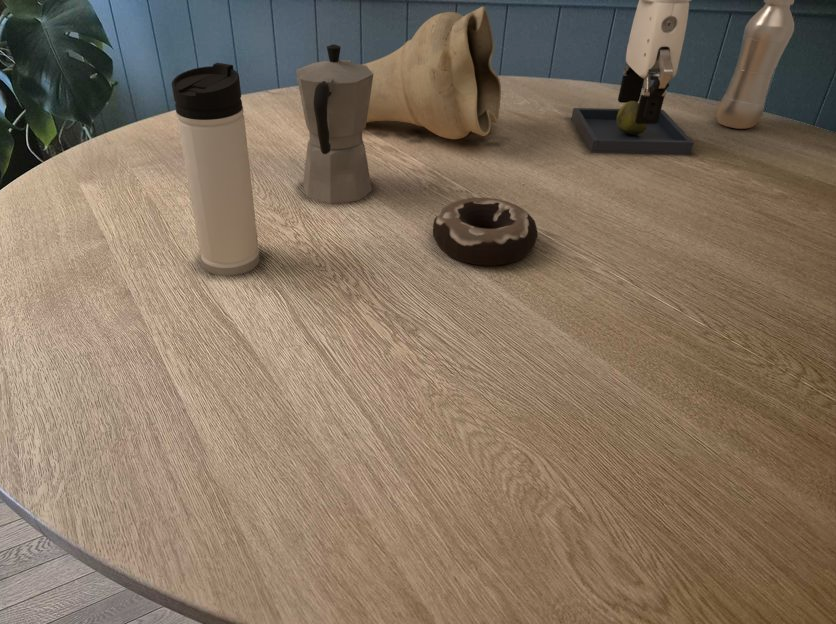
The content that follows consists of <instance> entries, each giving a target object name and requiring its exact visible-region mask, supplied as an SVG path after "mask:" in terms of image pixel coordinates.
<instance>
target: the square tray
mask: <svg viewBox="0 0 836 624" xmlns="http://www.w3.org/2000/svg"><path fill="white" fill-rule="evenodd" d="M620 109H621V108H597V107H595V108H593V107H592V108H591V107H573V108H572V114H571V118H570V119H571V122H572V123H573V125H574V127H575V128H576V130H577V132H578V134H579V136H580V137H581V139H582V141H583V142H584V144H585V145H586V147H587V149H588V151H589V152H590V154H618V155H619V154H621V155H622V154H623V155H624V154H625V155H627V154H628V155H665V156H666V155H670V156H676V155H677V156H691V154H692V150H693V147H694V145H695V142H694V141H693V140H692V139H691V137H689V135H688V134H686V132H685V131H684V130H683V129H682V128H681V127H680V126H679V125H678V123H676V122H675V121H674V119H672V118H671V117H670V115H669V114H668V113H667V112H666V111H665V110H664V109H661V112H660V116H659V120H658V122H657V123H656V124H647V125H646V129H645V130H644V132H642V133H640V134H638V135H631V134H628V133H625V132H622V131H621V130H620V129H619V128H618V126H617V115H618V112H619V110H620Z"/></svg>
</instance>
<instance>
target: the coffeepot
mask: <svg viewBox="0 0 836 624" xmlns="http://www.w3.org/2000/svg"><path fill="white" fill-rule="evenodd" d="M326 51H327V56H328V60H325V61H318V62H312V63H309V64H307V65H304V66H302V67H299V68H297V69H295V75H296V81H297V85H298V89H299V95H300V100H301V105H302V111H303V116H304V122H305V125H306V127H307V130H308V132H309V136H308V137H309V140H308V142H307V146H306V147H307V148H306V156H305V163H304V164H305V165H304V172H303V182H302V187H303V190H304V193H305V195H306V197H307V198H308V199H311V200H314V201H318V202H320V203H321V202H322V203H326V204H330V205H335V204H336V205H337V204H347V203H352V202H359V201H360V200H362V199H363V198H365V197H366V196H367V195H369V193H371V192H372V191H373V189H372V188H373V187H372V183H371V175H370V170H369V164H368V158H367V152H366V147H365V146H366V145H365V143H364V140H363V131H364V130H365V129H366V128H367V123H368V122H367V115H368V108H369V102H370V95H371V88H372V81H373V75H374V74H373V73H372V72H371V71H370V69H369V68H368V67H367V66H365V65H363V64H358V63H354V62H353V61H352V60H350V59H347V60H344V59H343V60H341V59H340V54H341V46H340V45H338V44H334V43H333V44H330V45H327V46H326Z"/></svg>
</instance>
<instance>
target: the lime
mask: <svg viewBox="0 0 836 624" xmlns="http://www.w3.org/2000/svg"><path fill="white" fill-rule="evenodd" d="M638 105H639V102H636V101H629V102H627V103H623V106H621V107H620V108H619V109H620V110H619V112H618V115H617V126H618V128H619V129H620V130H621V131H622V132H625V133H628V134H631V135H638V134H640V133H642V132H644V130H645V129H646V125H647V124H637V123H636V122H635V118H636V114H637V109H638Z"/></svg>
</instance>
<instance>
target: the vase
mask: <svg viewBox="0 0 836 624" xmlns="http://www.w3.org/2000/svg"><path fill="white" fill-rule="evenodd" d="M494 52H495V40H494V36H493V31H492V26H491V22H490V19H489V15H488V11H487V9H486V7H485V6H479V7H478V8H477V9H474V10H473V11H471V12H468V13H466V14H465V15H462V14H460V13H458V12H456V11H455V12H454V11H446V12H440V13H437V14H435V15H433V16H431V17H429V18H428V19H427V20H425V22H424V23H423V24H422V25H421V26H419V28H418V29H417V30H416V32H415V33H414V34H413V36H412V38H411V39H408V40H407V41H406V42H405V43H404V44H403V45H402V46H401V47H400V48H398V49H396V50H395V51H393V52H391V53H389V54H387V55H385V56H383V57H381V58H378V59H375V60H372V61H369V62H367V63H366V62H365V63H363V64H362V65H365V66H367V67H368V68H369V69H370V71H371V72H372V73H373V74H374V75H373V81H372V88H371V95H370V102H369V108H368V115H367V122H366V123H372V122H401V123H409V124H412V125H416V126H418V127H423V128H425V129H426V130H427V131H429V132H430V133H432V134H434V135H436V136H438V137H440V138H444V139H448V140H460V139H463V138H465V137H467V136H468V135H469V134H470V132H472V133H474V134H476V135H478V136H482V137H485V136H487V135H489V134H490V132H491V127H492V123H497V122H498V121H499V116H500V108H501V97H502V84H501V79H500V77H499V75H498V74H497V72H496V71H495V70H494V69H493V67H492V59H493V56H494Z"/></svg>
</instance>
